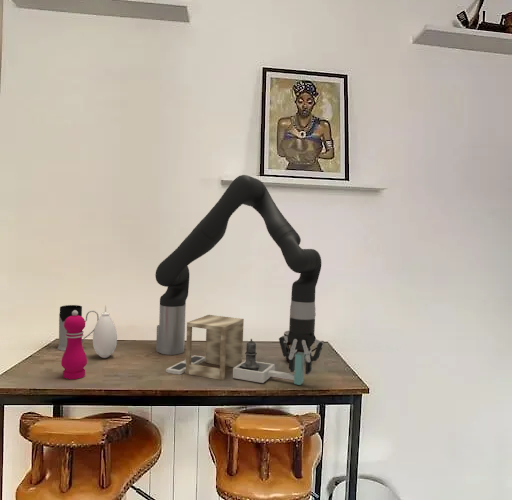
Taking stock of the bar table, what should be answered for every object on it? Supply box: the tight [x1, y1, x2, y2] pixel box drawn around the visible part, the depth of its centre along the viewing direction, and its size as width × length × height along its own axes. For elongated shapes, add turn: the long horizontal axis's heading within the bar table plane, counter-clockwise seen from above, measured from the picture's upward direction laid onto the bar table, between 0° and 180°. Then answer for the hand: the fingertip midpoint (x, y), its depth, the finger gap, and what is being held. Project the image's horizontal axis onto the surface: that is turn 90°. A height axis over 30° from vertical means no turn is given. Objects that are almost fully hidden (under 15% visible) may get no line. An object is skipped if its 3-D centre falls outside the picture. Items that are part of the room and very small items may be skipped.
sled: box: [232, 352, 306, 386], centre depth 149 cm, size 20×10×9 cm, turn 68°
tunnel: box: [185, 314, 245, 381], centre depth 155 cm, size 13×14×16 cm
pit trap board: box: [165, 354, 206, 376], centre depth 160 cm, size 5×18×1 cm, turn 158°
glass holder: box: [57, 304, 100, 352], centre depth 176 cm, size 9×14×15 cm, turn 94°
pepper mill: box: [60, 310, 88, 380], centre depth 145 cm, size 7×7×20 cm
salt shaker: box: [241, 338, 260, 371], centre depth 151 cm, size 6×6×12 cm
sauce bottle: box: [92, 305, 118, 359], centre depth 165 cm, size 8×8×18 cm
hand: (300, 372), depth 145 cm, fingers open, 4 cm apart
